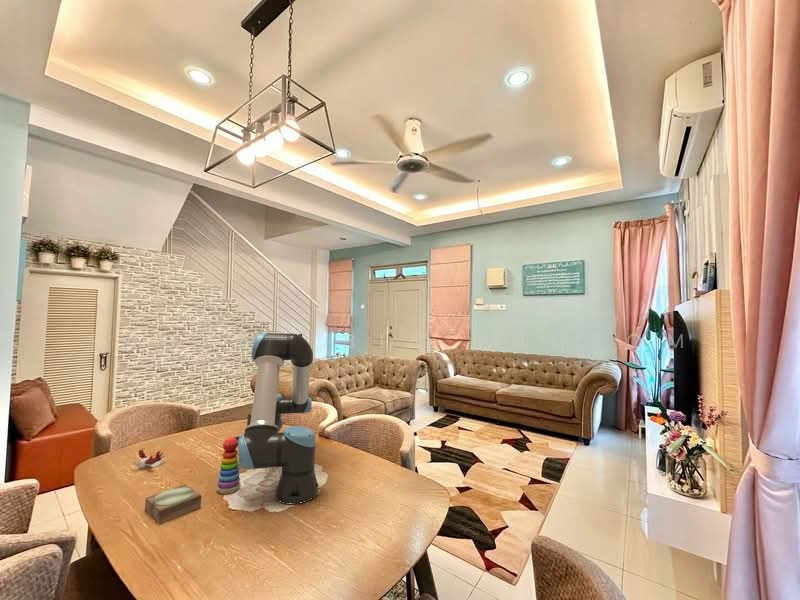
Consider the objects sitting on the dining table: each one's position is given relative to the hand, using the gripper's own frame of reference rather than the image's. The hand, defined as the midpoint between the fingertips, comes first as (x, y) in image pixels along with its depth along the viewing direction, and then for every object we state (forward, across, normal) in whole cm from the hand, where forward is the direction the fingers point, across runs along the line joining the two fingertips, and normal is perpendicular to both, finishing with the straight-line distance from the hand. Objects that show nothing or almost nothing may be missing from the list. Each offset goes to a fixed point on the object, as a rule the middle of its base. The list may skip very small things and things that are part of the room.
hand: (241, 450), depth 137 cm
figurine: (-6, +41, -11) cm, 43 cm away
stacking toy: (+9, 0, -11) cm, 14 cm away
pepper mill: (-54, +14, -11) cm, 57 cm away
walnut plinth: (+24, +11, -10) cm, 28 cm away
